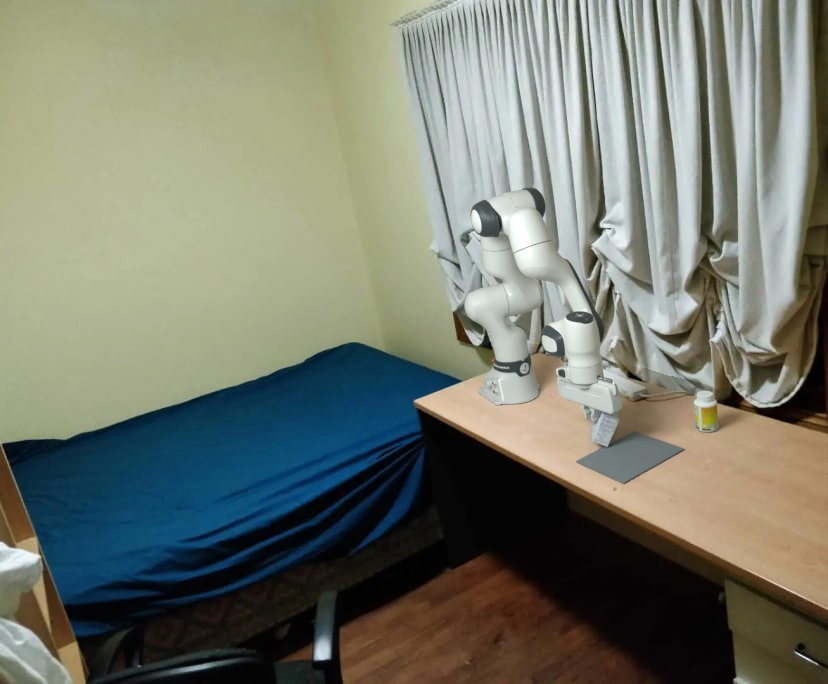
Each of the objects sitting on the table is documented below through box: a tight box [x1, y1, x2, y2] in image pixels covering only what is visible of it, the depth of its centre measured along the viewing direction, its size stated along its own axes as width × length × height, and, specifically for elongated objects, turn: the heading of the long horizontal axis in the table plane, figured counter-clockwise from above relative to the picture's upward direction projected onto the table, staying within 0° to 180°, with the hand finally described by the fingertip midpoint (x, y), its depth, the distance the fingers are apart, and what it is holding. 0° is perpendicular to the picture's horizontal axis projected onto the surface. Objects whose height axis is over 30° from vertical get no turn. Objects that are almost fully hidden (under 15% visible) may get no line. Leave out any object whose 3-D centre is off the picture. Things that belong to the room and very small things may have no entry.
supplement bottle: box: [693, 390, 719, 433], centre depth 168 cm, size 6×6×10 cm
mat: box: [575, 430, 685, 485], centre depth 163 cm, size 16×22×1 cm
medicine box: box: [590, 410, 620, 447], centre depth 171 cm, size 8×4×9 cm, turn 169°
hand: (591, 419), depth 172 cm, fingers closed
